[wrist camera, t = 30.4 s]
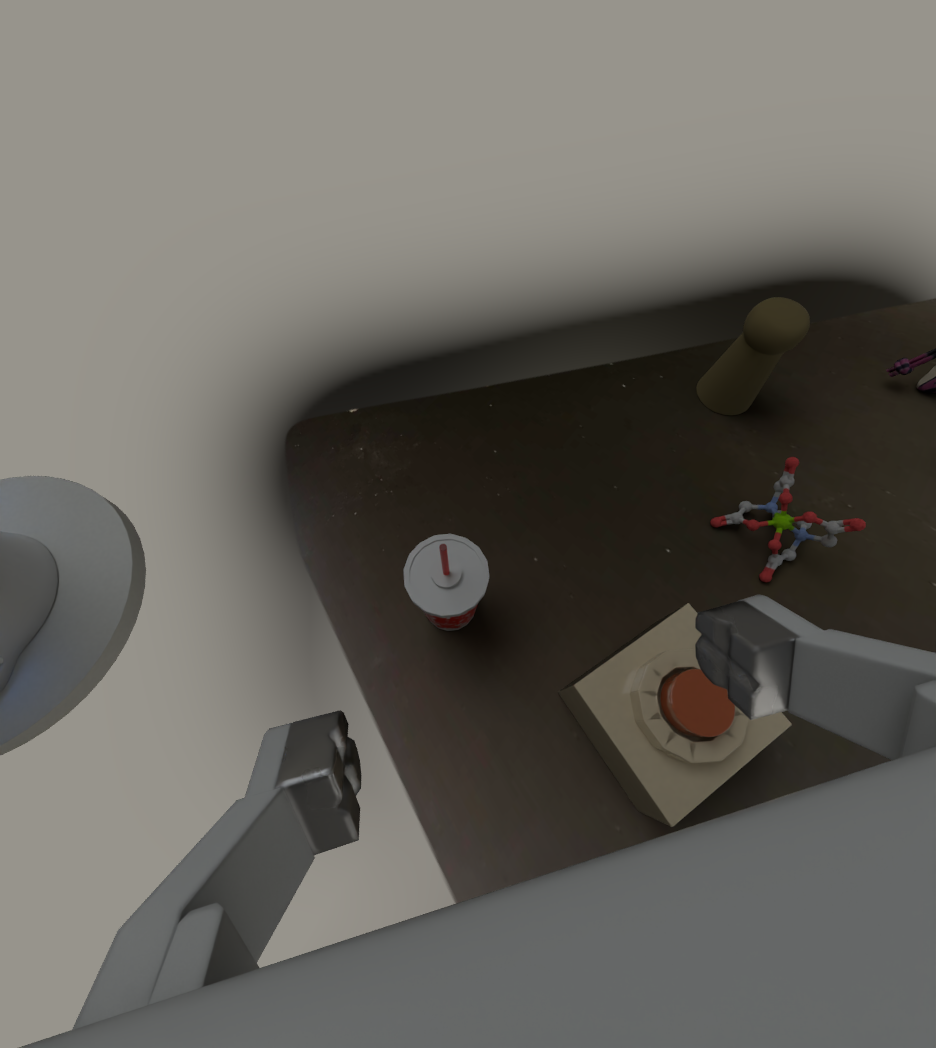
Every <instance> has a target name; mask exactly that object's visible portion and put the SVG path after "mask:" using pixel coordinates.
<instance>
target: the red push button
mask: <svg viewBox="0 0 936 1048" xmlns="http://www.w3.org/2000/svg"><path fill="white" fill-rule="evenodd" d="M661 706H662V710H663V712H664V714H665V716H666V718H667V719H668V721H669V722H670V723H671V725H672V726H673V727H675V728H676V729H677V730H678V731H680V732H682V733H684V734H686V735H689V736H693V737H715V736H719V735H721V734H723V733H724V732H726V731H727V730H728V729H729V727H730V726H731V724H732V722H733V719H734V715H735V705H734V704H733V703H732V702H731V701H730V700H729V699H728V693H727V689H724V688H722V687H719V686H716V685H714V684H713V683H712V682H711V681H710V680H709V679H708V678H707V677H706V676H705V675H704V673H703V672H702V670H701V669H690V670H686V671H683V672H679V673H676V674H674V675H672V676H670V677H669V678H668V679H667V680H666V682H665V683H664V685H663V687H662V690H661Z"/></svg>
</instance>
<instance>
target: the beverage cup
mask: <svg viewBox="0 0 936 1048" xmlns="http://www.w3.org/2000/svg"><path fill="white" fill-rule="evenodd" d="M488 580H489V570H488V563H487V560H486V558H485V557H484V555H483V553H482V552H481V550H480V548H479V547H478V546H476V545H475V544H474V543H472V542H471V541H470V540H468V539H467V538H464V537H461V536H457V535H453V534H444V535H435V536H433V537H431V538H429V539H427V540H425V541H423V542H421V543H419V544H418V546H417V547H416V548H415V549H414V550H413V551H412V552H411V553H410V554H409V556H408V559H407V562H406V565H405V568H404V584H405V588H406V590H407V592H408V594H409V596H410V598H411V600H412V602H413V603H414V604H415V605H416V606H418V607H419V608H420V609H421V610H423V612H424V613H425V615H426V616H427V618H428V619H429V621H430V622H431V623H432V624H433V625H435V626H436V627H437V628H439V629H442V630H446V631H453V630H459V629H461V628H462V627H464V626H466V625H467V624H468V623H469V622H470V621H471V619H472V618H473V617H474V614H475V611H476V608H477V605H478V603H479V601H480V600H481V599H482V598H483V596H484V594H485V591H486V588H487V584H488Z"/></svg>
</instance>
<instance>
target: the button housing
mask: <svg viewBox="0 0 936 1048" xmlns="http://www.w3.org/2000/svg"><path fill="white" fill-rule="evenodd" d="M696 616H697V612H696V611H695V610H694V609H693V608H692V606H691V605H690V604H689V603H688V604H686V605H684V606H682V607H681V608H679V609H677V610H675V611H674V612H672V613H670V614H668V615H667V616H665V617H663V618H662V619H660V620H658V621H657V622H655V623H654V624H652V625H651V626H649V627H648V628H647V629H645V630H644V631H642V632H641V633H640V634H638V635H637V636H635V637H634V638H633V639H631V640H630V641H628V642H627V643H626V644H624V645H623V646H621V647H620V648H619V649H617V650H616V651H614V652H613V653H612V654H610V655H609V656H607V657H606V658H605V659H603V660H602V661H600V662H599V663H598V664H596V665H595V666H593V667H592V668H591V669H589V670H588V671H586V672H585V673H584V674H582V675H581V676H579V677H578V678H577V679H575V680H574V681H572V682H571V683H570V684H568V685H567V686H565V687H564V688H563V689H561V690H560V691H558V693H559V695H560V696H561V698H562V699H563V701H564V702H565V704H566V705H567V707H568V708H569V710H570V711H571V713H572V714H573V716H574V717H575V719H576V720H577V722H578V723H579V725H580V726H581V727H582V729H583V730H584V732H585V733H586V735H587V736H588V738H589V739H590V741H591V742H592V744H593V745H594V747H595V748H596V750H597V751H598V753H599V754H600V756H601V757H602V759H603V760H604V762H605V763H606V764H607V766H608V767H609V769H610V770H611V772H612V773H613V775H614V776H615V778H616V779H617V781H618V782H619V784H620V785H621V787H622V788H623V790H624V791H625V793H626V794H627V796H628V797H629V799H630V800H631V802H632V803H633V804H634V806H635V807H636V809H637V810H638V811H639V812H641V813H643V814H645V815H647V816H649V817H651V818H654V819H656V820H658V821H660V822H662V823H664V824H666V825H669V826H671V827H673V826H674V825H676V824H677V823H678V822H679V821H680V820H681V819H683V818H684V817H685V816H686V815H687V814H688V813H690V812H691V811H692V810H693V809H694V808H695V807H697V806H698V805H699V804H700V803H701V802H702V801H704V800H705V799H706V798H707V797H708V796H709V795H711V794H712V793H713V792H714V791H715V790H716V789H718V788H719V787H720V786H721V785H722V784H723V783H724V782H726V781H727V780H728V779H729V778H730V777H731V776H733V775H734V774H735V773H736V772H737V771H738V770H740V769H741V768H742V767H743V766H744V765H745V764H747V763H748V762H749V761H750V760H751V759H752V758H754V757H755V756H756V755H757V754H758V753H759V752H761V751H762V750H763V749H764V748H765V747H766V746H768V745H769V744H770V743H771V742H772V741H773V740H775V739H776V738H777V737H778V736H779V735H780V734H782V733H783V732H784V731H785V730H786V729H787V728H789V727H790V726H791V725H792V724H791V723H790V722H789V721H788V719H787V718H786V717H785V716H784V715H783V713H782V712H779V713H775V714H772V715H768V716H764V717H761V718H757V719H753V720H750V719H749V718H748V717H747V716H746V715H745V714H744V713H743V712H742V711H741V710H740V709H739V708H738V707H736V706H735V715H734V719H733V722H732V724H731V726H730V727H729V729H728V730H727V731H726V732H724V733H723V734H721V735H719V736H715V737H693V736H689V735H686V734H684V733H682V732H680V731H678V730H677V729H676V728H675V727H673V726H672V725H671V723H670V722H669V721H668V719H667V718H666V716H665V714H664V712H663V710H662V706H661V690H662V687H663V685H664V683H665V682H666V680H667V679H668V678H669V677H670V676H672V675H674V674H676V673H679V672H683V671H686V670H690V669H700V667H699V664H698V661H697V659H696V651H695V644H696V642H697V641H698V639H699V637H700V636H701V633H700V632H699V631H698V630H697V629H696V628H695V619H696Z"/></svg>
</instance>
